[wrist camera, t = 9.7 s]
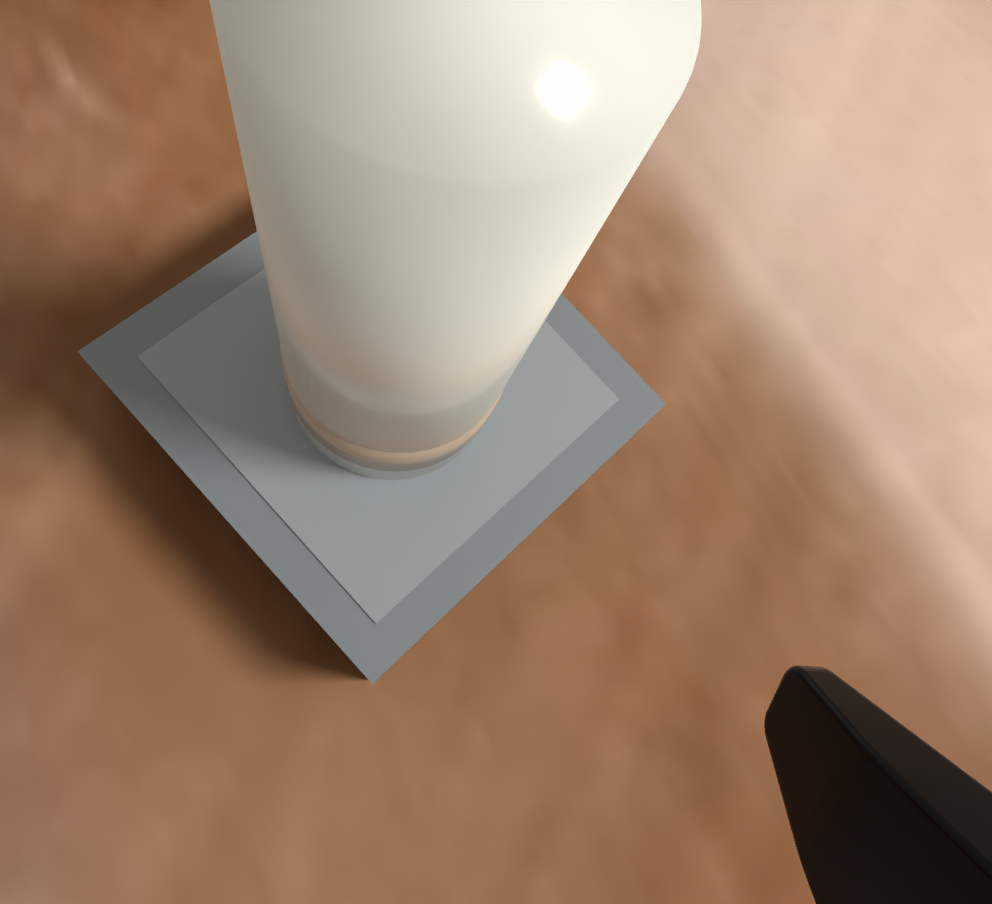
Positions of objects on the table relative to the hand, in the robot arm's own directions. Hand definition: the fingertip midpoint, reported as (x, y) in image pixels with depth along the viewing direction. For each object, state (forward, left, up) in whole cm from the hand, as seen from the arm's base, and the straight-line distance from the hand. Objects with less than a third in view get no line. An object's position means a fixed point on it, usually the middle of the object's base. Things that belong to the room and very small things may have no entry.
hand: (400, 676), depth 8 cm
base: (+5, +5, -13) cm, 15 cm away
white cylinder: (+5, +5, -11) cm, 13 cm away
